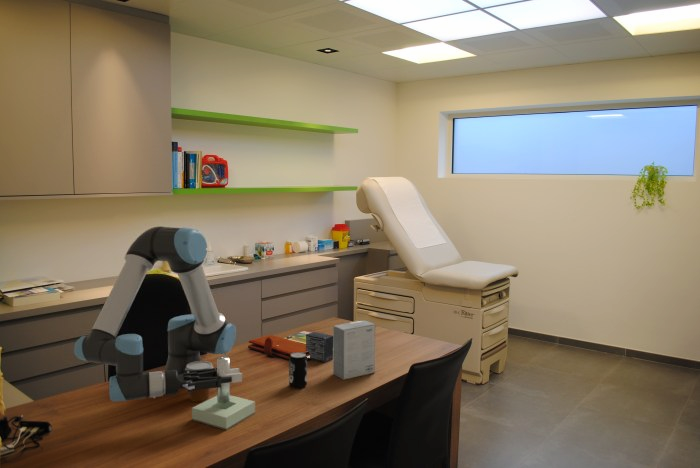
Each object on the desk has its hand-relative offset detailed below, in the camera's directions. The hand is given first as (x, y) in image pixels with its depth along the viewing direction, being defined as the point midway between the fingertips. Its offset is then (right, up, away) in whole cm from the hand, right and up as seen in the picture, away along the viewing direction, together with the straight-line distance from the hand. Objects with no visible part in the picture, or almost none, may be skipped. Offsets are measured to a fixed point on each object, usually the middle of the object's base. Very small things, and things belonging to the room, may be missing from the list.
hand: (240, 374), depth 178 cm
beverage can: (+16, -11, +27) cm, 33 cm away
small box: (+22, -8, +58) cm, 62 cm away
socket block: (-5, -13, 0) cm, 14 cm away
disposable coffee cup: (-17, -12, +14) cm, 25 cm away
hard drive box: (+37, -10, +40) cm, 56 cm away
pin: (-5, -8, -1) cm, 10 cm away
